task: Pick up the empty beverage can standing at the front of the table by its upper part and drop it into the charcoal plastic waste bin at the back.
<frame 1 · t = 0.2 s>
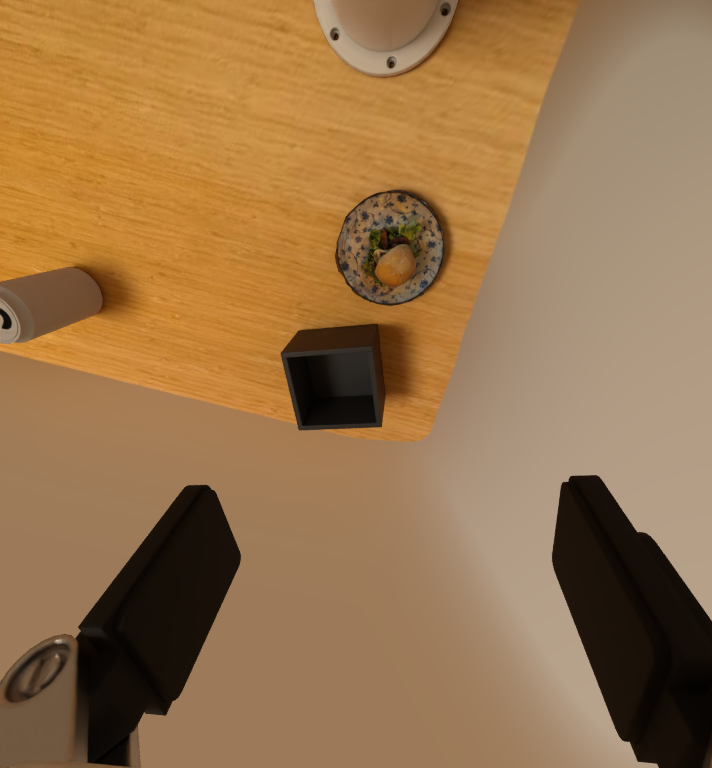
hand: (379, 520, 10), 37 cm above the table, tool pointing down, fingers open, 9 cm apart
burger: (390, 250, 42), on the table
bin: (343, 364, 49), on the table
beverage can: (84, 290, 49), on the table
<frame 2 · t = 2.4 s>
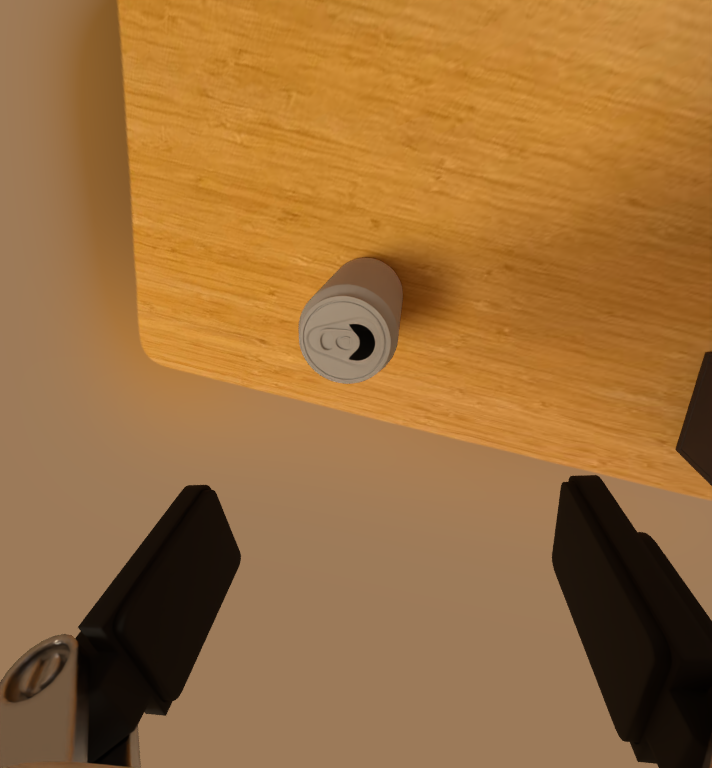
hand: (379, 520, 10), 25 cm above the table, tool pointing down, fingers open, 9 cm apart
beverage can: (366, 293, 33), on the table
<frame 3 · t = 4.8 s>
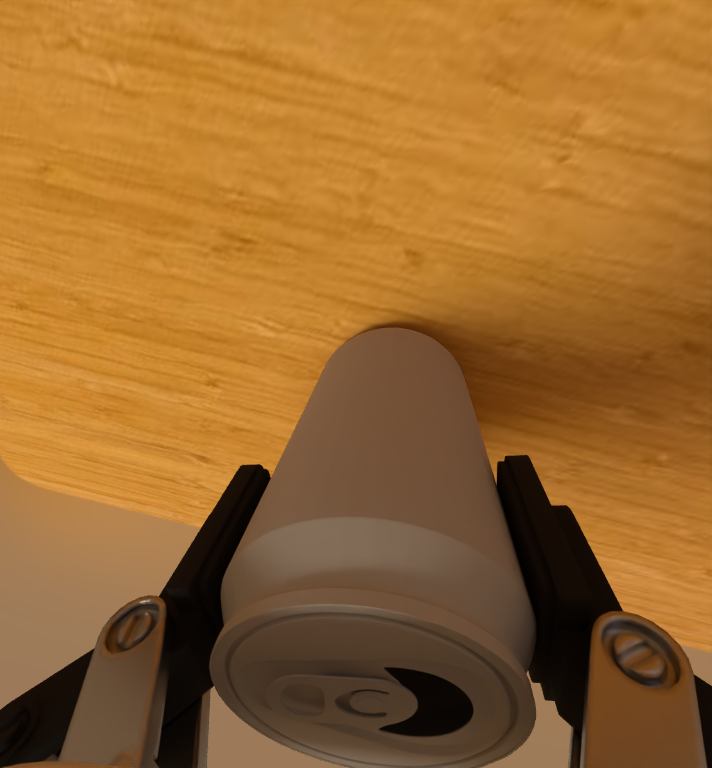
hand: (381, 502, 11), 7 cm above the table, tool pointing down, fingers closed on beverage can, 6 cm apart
beverage can: (391, 386, 17), on the table, touching gripper
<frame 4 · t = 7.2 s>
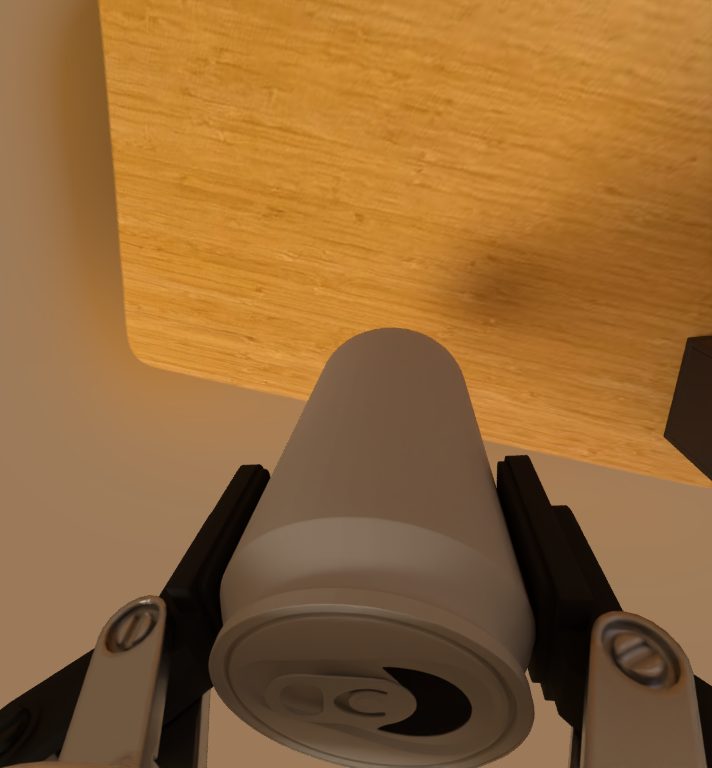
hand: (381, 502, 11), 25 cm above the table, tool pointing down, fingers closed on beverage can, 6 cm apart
beverage can: (391, 386, 17), point 18 cm above the table, touching gripper
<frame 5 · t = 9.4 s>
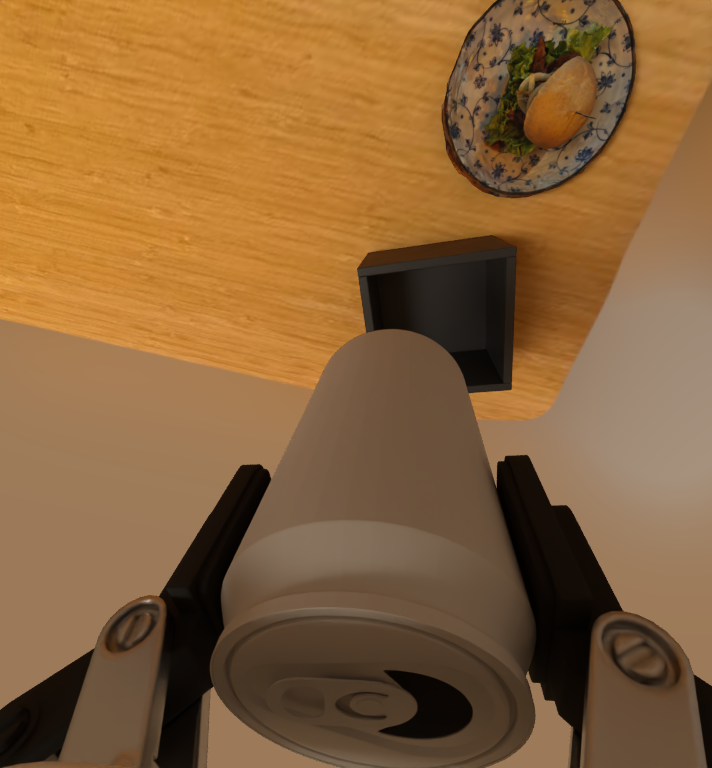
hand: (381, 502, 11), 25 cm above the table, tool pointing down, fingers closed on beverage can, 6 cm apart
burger: (527, 103, 26), on the table
bin: (432, 304, 33), on the table
beverage can: (391, 387, 17), point 18 cm above the table, touching gripper
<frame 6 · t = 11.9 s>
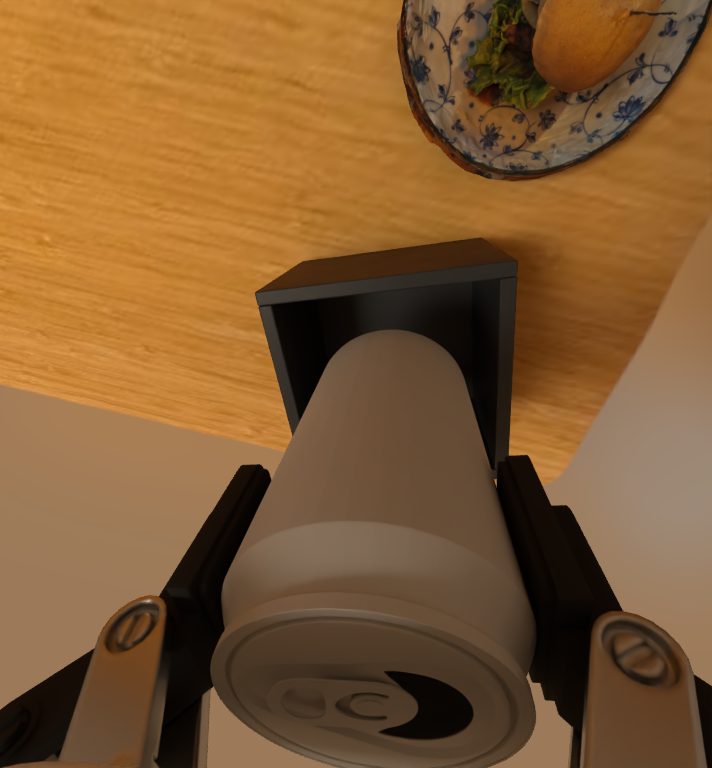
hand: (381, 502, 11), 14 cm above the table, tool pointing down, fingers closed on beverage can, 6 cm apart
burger: (536, 26, 16), on the table
bin: (396, 335, 23), on the table
beverage can: (391, 388, 17), point 7 cm above the table, touching gripper
when the fingers open (8 cm above the table, at t = 14.0 s): beverage can stays where it is, resting on bin.
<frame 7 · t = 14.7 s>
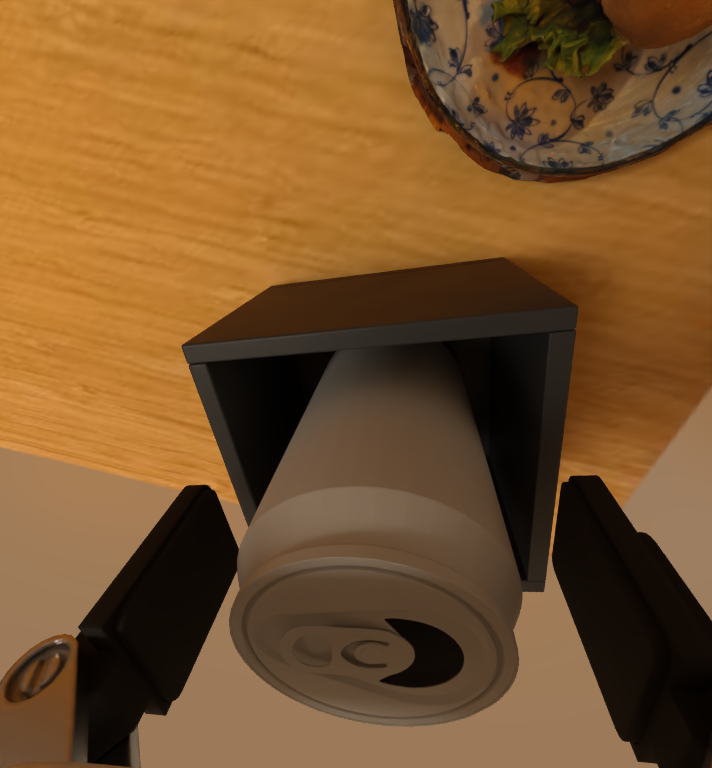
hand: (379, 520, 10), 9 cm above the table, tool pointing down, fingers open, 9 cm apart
bin: (392, 377, 18), on the table
beverage can: (392, 381, 18), resting on bin
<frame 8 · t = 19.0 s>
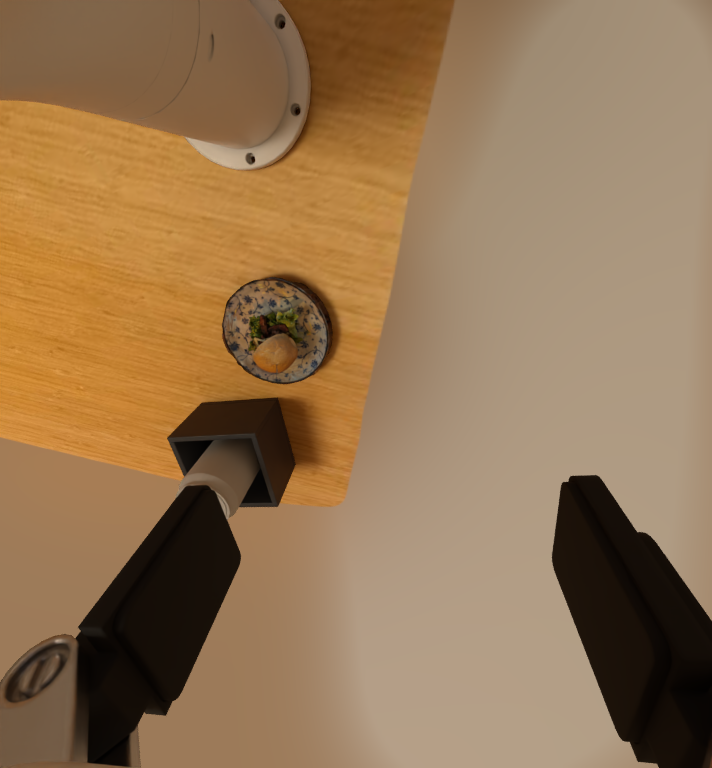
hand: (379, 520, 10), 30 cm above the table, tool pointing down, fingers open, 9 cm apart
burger: (280, 329, 41), on the table
bin: (250, 434, 48), on the table
beverage can: (248, 436, 48), resting on bin
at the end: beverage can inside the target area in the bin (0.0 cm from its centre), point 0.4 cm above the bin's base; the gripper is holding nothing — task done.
